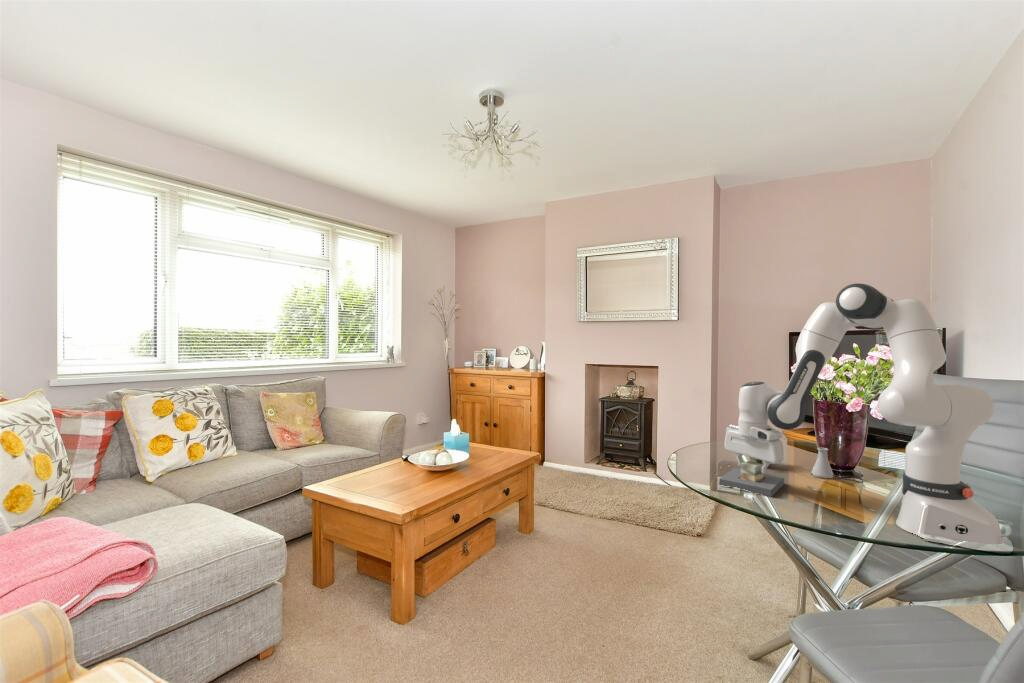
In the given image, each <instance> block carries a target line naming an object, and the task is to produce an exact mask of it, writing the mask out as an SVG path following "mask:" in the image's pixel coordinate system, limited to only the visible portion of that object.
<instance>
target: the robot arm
mask: <svg viewBox="0 0 1024 683" xmlns="http://www.w3.org/2000/svg"><path fill="white" fill-rule="evenodd" d="M851 328H855V329H857V330H872V331H873V330H874V331H876V330H877V331H878V330H879V331H880V330H884V332H885V335H886V338H887V343H888V345H889V350H890V353H891V356H892V357H891V358H892V361H893V362H892V363H893V375H892V379H891V381H890V382H889V384H888V386H887V387H885V388H884V389H883V390H882V391H881V392H880V395H879V396H878V398H877V408H878V412H879V413H880V415H881V416H882V417H883V419H885V421H887V422H888V423H891V424H896V425H900V426H907V427H924V429H923V431H922V432H921V434H920V435H919V436H917V437H916V438H914V439H912V440H910V441H909V442H908V443H907V444H906V446H905V453H904V454H905V457H904V460H905V461H904V472H903V474H902V477H901V492H902V501H901V504H900V509H899V513H898V515H897V518H896V521H895V524H896V525H897V526H898V527H899V528H900V529H902V530H903V531H906V532H908V533H910V534H912V533H913V535H915V534H916V535H915V536H917V535H918V536H920V537H922V538H925V539H929V540H935V541H947V542H953V543H955V542H963V541H968V542H978V543H985V544H997V545H998V544H1002V543H1003V542H1004V541H1007V538H1003V537H1008V536H1006V534H1004V533H1002V530H1001V527H1000V522H999V521H998V519H997V518H996V516H995V515H994V514H993V513H992V512H990V511H989V510H988V509H986V508H984V507H983V506H982V505H981V504H979V503H978V502H977V501H975V500H973V499H972V497H974V490H972V489H971V488H972V487H971V486H969V484H968V483H965V482H963V481H961V468H962V460H963V459H962V458H963V454H964V453H963V452H964V449H965V447H966V445H967V442H968V441H969V439H970V438H971V436H972V435H973V433H974V432H975V431H976V430H977V429H978V428H980V426H981V425H984V424H985V423H986V422H988V421H989V420H990V419H991V418H992V416H993V414H994V412H995V411H994V410H995V405H994V402H993V399H992V397H991V396H990V395H989V393H988V392H987V391H985V390H984V389H982V388H979V387H974V386H969V385H965V384H936V383H935V382H934V372H935V371H937V370H938V369H940V368H941V367H942V366H943V365H944V364H945V362H946V361H947V354H946V351H945V348H944V345H943V343H942V339H941V336H940V333H939V330H938V328H937V325H936V322H935V320H934V318H933V316H932V315H931V313H930V311H929V309H928V308H927V307H926V304H924V303H923V302H922V301H920V300H918V299H914V298H904V299H899V300H896V301H895V300H893V299H892V298H890V297H889V296H888V295H886V293H884V292H883V291H881V290H879V289H877V288H875V287H873V286H871V285H869V284H866V283H859V282H858V283H852V284H848V285H846V286H845V287H843V288H842V289H841V290H840V291H839V292H838V294H837V295H836V297H835V302H832V301H826V302H823V303H821V304H819V305H818V306H817V307H816V308H815V310H814V311H813V312H812V313H811V315H810V316H809V317H808V319H807V321H806V322H805V324H804V326H803V328H802V330H801V331H800V334H799V336H798V338H797V341H796V344H795V345H796V346H795V356H796V364H795V368H794V371H793V374H792V375H791V377H790V380H789V382H788V383H787V385H786V388H785V389H784V391H782V390H778V389H776V388H774V387H772V386H769V385H768V384H767V383H765V382H763V381H752V382H746V383H744V384H743V385H741V387H740V388H739V393H738V410H739V416H738V418H737V419H738V421H737V422H738V424H737V425H734V424H729V425H727V426H726V428H725V436H724V444H723V446H724V449H725V451H728V452H732V453H734V455H735V458H736V460H737V462H738V463H737V465H738V467H741V463H744V462H746V461H744V459H743V456H746V457H749V458H750V457H752V458H756V459H760V460H762V463H763V464H764V465H763V466H762V467H759V470H760V471H759V472H760V473H763V474H765V473H766V474H768V473H767V472H768V471H767V470H768V468H769V467H770V466H769V465H771V464H773V465H774V464H775V465H776V464H780V463H782V462H783V461H784V459H785V458H784V457H785V454H784V444H783V442H782V440H781V439H782V438H783V433H782V432H781V431H779V429H781V430H787V431H789V430H794V429H797V428H798V427H800V426H801V425H802V424H803V423H804V421H805V418H806V405H807V404H806V403H807V400H808V397H809V395H810V394H811V392H812V390H813V388H814V385H815V384H816V381H817V379H818V378H819V375H820V374H821V372H822V370H823V369H824V368H825V366H826V365H827V363H828V362H829V360H830V359H831V357H832V356H833V355H834V354H835V352H836V351H837V349H838V347H839V345H840V343H841V341H842V340H843V338H844V336H845V334H846V333H847V332H848V331H849V330H851ZM768 420H769V421H770V423H771V424H772V425H773V426H774V427H776V428H778V430H777V429H775V428H774V427H772V426H771V425H770V424H768ZM768 466H769V467H768ZM918 536H917V537H918ZM920 537H919V538H920Z"/></svg>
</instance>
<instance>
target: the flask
mask: <svg viewBox="0 0 1024 683" xmlns="http://www.w3.org/2000/svg"><path fill="white" fill-rule="evenodd" d="M817 450H818V453H817V458H816V461H815V462H814V465H813V467H812V469H811V472H810V474H811V473H812V474H813V475H812V476H813V477H814V476H815V477H816V478H820V479H827V478H832V477H833V475H834V471H833V470H832V467H831V464H830V461H829V458H828V451H829V448H827V447H817ZM834 476H835V475H834ZM815 477H814V478H815ZM832 479H833V478H832Z"/></svg>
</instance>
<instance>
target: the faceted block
mask: <svg viewBox="0 0 1024 683" xmlns="http://www.w3.org/2000/svg"><path fill="white" fill-rule="evenodd" d="M762 466H763V464H759V463H755V462H752V461H750V460H748V461H745V462H744V463H741V466H740V469H741V479H744V480H748V481H753V482H758V483H761V482H762V481H763V473H760V472H759V471H760V470H759V467H762Z"/></svg>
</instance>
